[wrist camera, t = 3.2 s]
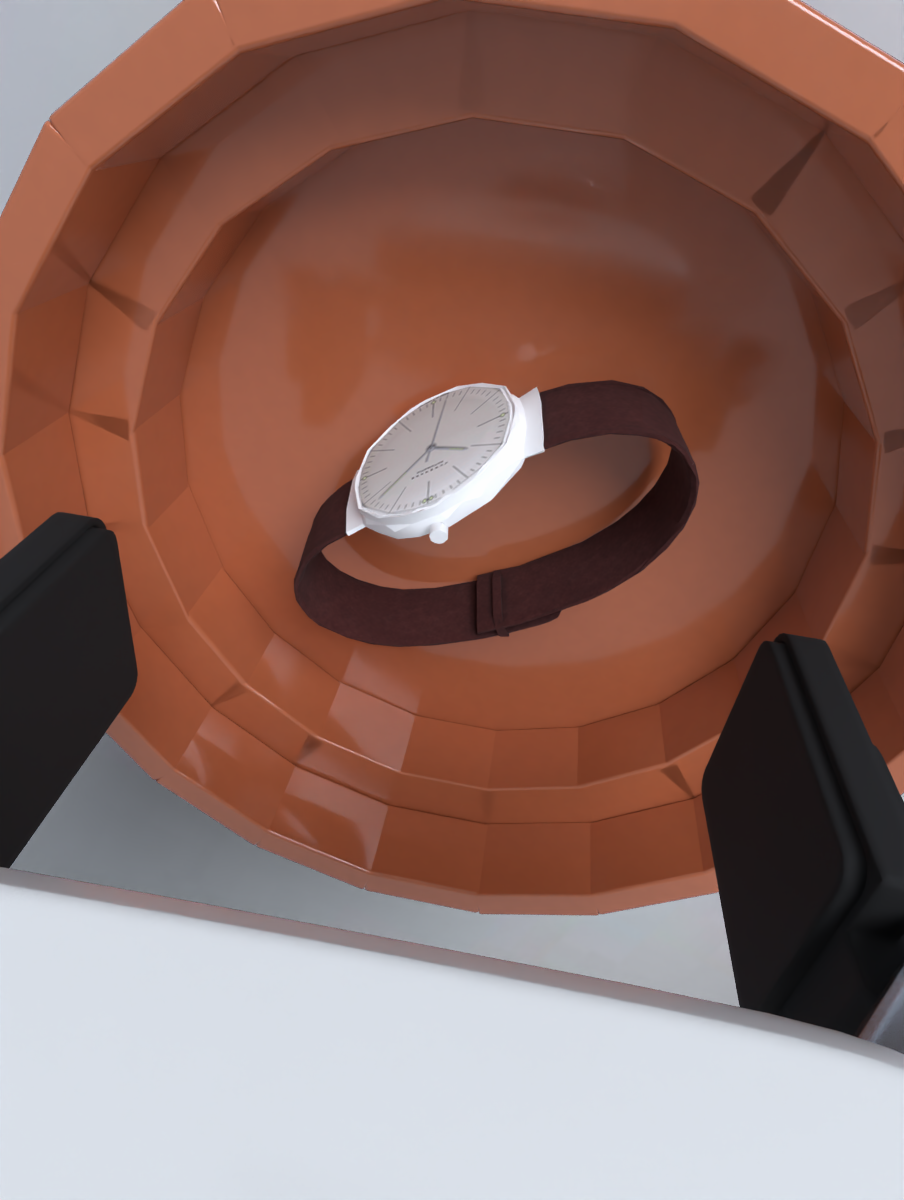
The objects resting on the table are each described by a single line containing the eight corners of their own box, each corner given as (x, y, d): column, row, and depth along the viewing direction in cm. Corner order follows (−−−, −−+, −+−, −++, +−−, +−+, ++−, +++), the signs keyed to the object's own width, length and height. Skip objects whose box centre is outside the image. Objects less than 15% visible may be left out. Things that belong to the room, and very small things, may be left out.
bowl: (1163, 50, 11) (1462, 40, 7) (758, 813, 20) (795, 978, 16) (39, -101, 12) (-215, -180, 8) (156, 698, 21) (65, 831, 17)
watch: (634, 292, 13) (647, 357, 10) (723, 519, 15) (756, 629, 12) (274, 469, 16) (202, 560, 13) (390, 638, 18) (351, 751, 15)
